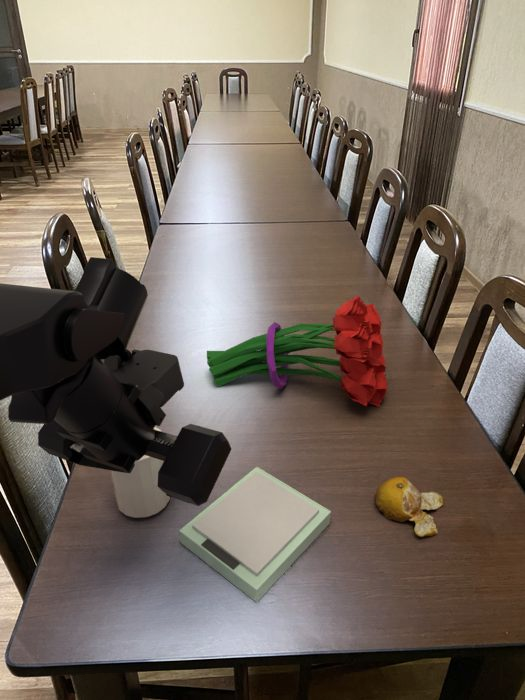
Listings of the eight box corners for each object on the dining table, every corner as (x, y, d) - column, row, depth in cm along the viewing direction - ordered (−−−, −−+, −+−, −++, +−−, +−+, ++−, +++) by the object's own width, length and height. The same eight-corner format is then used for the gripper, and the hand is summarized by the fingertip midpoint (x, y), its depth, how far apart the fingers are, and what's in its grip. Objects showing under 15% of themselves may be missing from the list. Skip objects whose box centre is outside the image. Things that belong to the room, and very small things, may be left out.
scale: (256, 602, 57) (256, 586, 56) (180, 542, 64) (178, 526, 63) (330, 523, 67) (331, 507, 65) (256, 478, 73) (256, 462, 72)
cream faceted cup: (140, 530, 66) (130, 469, 60) (106, 502, 69) (94, 443, 64) (181, 498, 70) (175, 439, 65) (147, 473, 74) (139, 416, 69)
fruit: (434, 544, 64) (440, 523, 62) (366, 522, 67) (369, 501, 65) (444, 497, 71) (449, 476, 69) (381, 478, 73) (384, 458, 71)
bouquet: (228, 383, 103) (387, 369, 96) (206, 439, 89) (391, 428, 82) (201, 290, 94) (375, 267, 86) (172, 337, 80) (377, 314, 73)
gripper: (228, 343, 44) (275, 434, 56) (62, 312, 52) (134, 397, 64) (163, 465, 38) (231, 537, 50) (-10, 409, 46) (83, 482, 58)
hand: (166, 480), depth 56 cm, fingers open, 9 cm apart
